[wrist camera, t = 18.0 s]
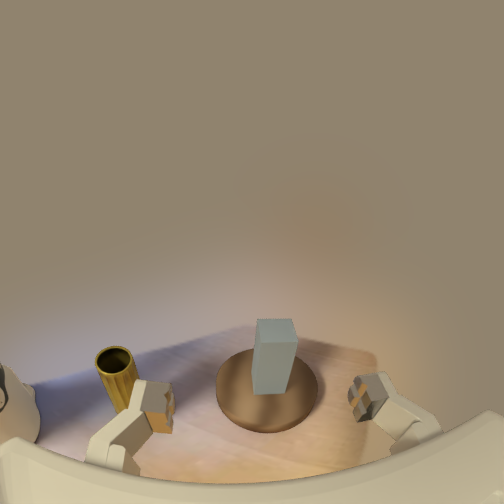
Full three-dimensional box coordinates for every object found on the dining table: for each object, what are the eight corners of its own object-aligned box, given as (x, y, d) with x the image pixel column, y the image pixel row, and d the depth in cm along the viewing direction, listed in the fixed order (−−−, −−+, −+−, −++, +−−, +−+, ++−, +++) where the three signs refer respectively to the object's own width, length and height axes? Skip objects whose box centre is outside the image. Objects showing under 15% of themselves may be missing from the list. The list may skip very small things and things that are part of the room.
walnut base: (207, 425, 36) (207, 417, 34) (224, 353, 51) (224, 343, 50) (316, 435, 35) (321, 426, 34) (310, 362, 50) (313, 351, 49)
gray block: (253, 394, 39) (261, 342, 34) (251, 372, 44) (257, 318, 39) (284, 393, 40) (298, 341, 35) (279, 371, 44) (291, 318, 39)
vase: (156, 403, 38) (139, 345, 32) (153, 434, 33) (130, 380, 27) (122, 400, 37) (98, 341, 31) (116, 429, 32) (85, 373, 26)
